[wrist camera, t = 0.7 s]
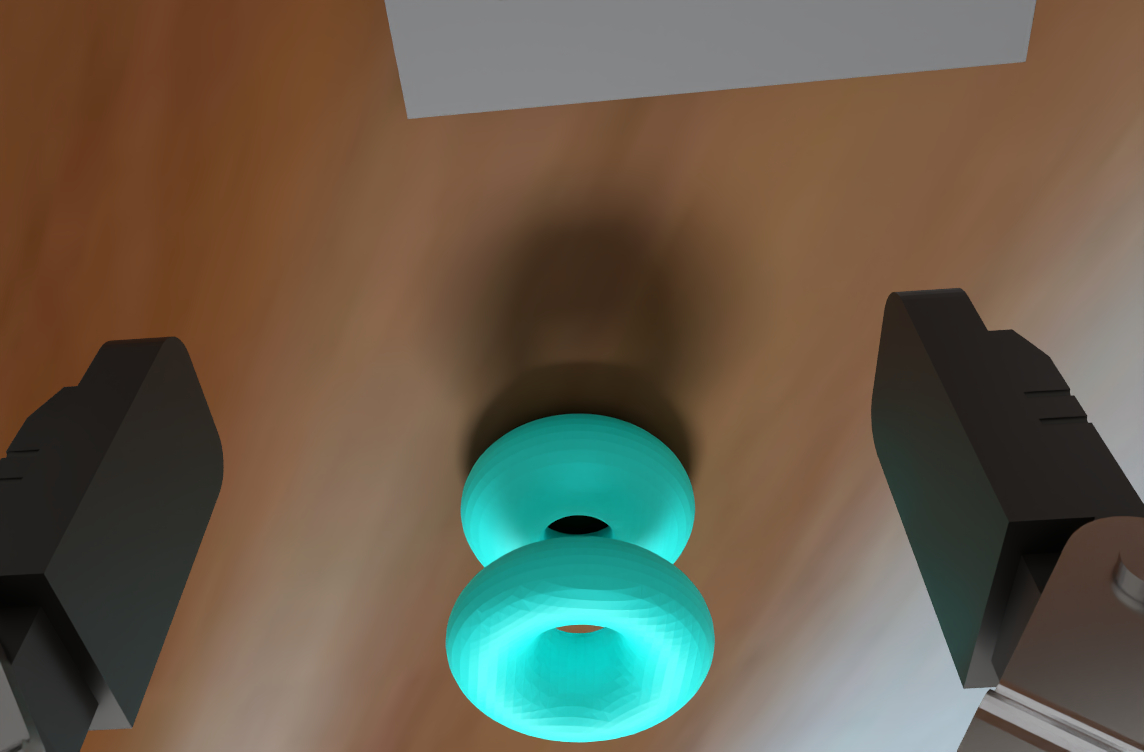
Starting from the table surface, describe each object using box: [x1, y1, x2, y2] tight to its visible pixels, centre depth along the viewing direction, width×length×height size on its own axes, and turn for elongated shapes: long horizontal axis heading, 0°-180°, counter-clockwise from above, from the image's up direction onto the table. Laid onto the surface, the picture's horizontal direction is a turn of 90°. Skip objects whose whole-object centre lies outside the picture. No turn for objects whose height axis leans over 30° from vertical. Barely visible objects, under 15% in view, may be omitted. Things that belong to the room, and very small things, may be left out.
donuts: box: [446, 414, 715, 742], centre depth 41 cm, size 10×10×10 cm
